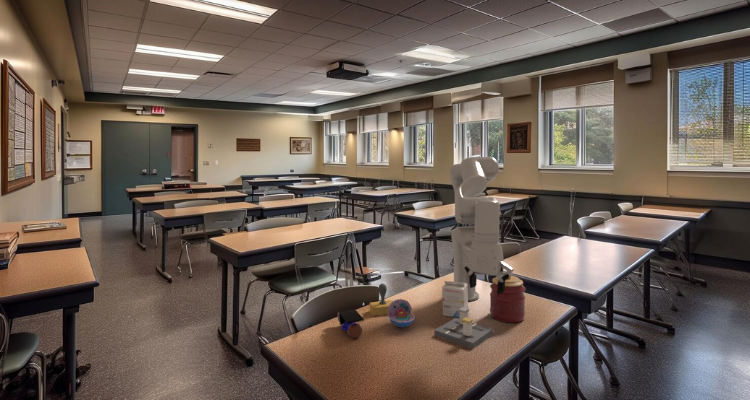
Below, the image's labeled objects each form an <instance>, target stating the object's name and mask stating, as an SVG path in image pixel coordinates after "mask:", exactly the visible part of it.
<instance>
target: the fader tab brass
mask: <svg viewBox="0 0 750 400" xmlns="http://www.w3.org/2000/svg"><path fill="white" fill-rule="evenodd" d="M462 322H463V335H466V336H470V335H472V323H474V319H473V318H471V317H469V316H468V317H465V318H464V319H462Z"/></svg>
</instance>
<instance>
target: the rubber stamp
mask: <svg viewBox="0 0 750 400" xmlns="http://www.w3.org/2000/svg"><path fill="white" fill-rule="evenodd" d="M387 290H388V289H387V285H386V284H385V283H380V284H379V285H378V293H379V297H380V299H381V300H380V301H373V302H372V301H371V302H369V313H370V314H371V316H372V317H376V316H383V315H384V316H386V315H388V307H389V305H390V304H391V303H392V302H393V301H394V300H392V299H390V300H385V297H386V293H387Z"/></svg>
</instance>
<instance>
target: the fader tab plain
mask: <svg viewBox="0 0 750 400" xmlns="http://www.w3.org/2000/svg"><path fill="white" fill-rule="evenodd" d="M469 311H470V309H469V308H468V309H467V308H464V307H462V308H460V309H459V312H460V318H459V319H460V324H463V322H462V319H464V318H465V317H468V318H469Z"/></svg>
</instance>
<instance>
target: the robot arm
mask: <svg viewBox="0 0 750 400" xmlns="http://www.w3.org/2000/svg"><path fill="white" fill-rule="evenodd" d="M499 173H500V167H499V162H498V160H497V159H495V157H493V156H472V157H471V156H470V157H466V158H464V159H463V160H462V161H461V162H460V163H454V164H453V165H451V166H450V168H449V178H450V182H451V185H452V187H453V188H452V189H453V192H454V218H455V221H456V223H458V224H462V225H463V224H464V225H470V224H471V225H472V224H473V225H474V226H459V227H455V228H454V229H452V232H451V241H452V242H451V243H452V250H453V282H460V283H467V284H468V302H472V301H473V302H474V301H476V300H478V299H479V298H480V294H479V293H478V292H477V291H476V287H477V274H482V275H486V276H492V277H493V276H495V278H496V277H497V278H498V280H499V282H498V286H497V293H498V294H502V293H503V292H504V291H505V280H507V279H508V278H509V277H510V276H512V274H513V273H514V268H513V267H511V266H510V265H508V264H507V263H505V262H504V253H503V246H502V243H501V242H500V210H501V207H500V206H501V205H500V202H499V201H498V199H497V198H496V197H494V196H478V195H479V194H481V193H483V192H484V191H485V190H486V189H487V188H488V187H487V186H488V184H489V183H491V182H492V181H494V180H495V179H496V178H497V177H498V175H499ZM504 270H505V271H506V272H507V273H506V272H505V273H506V274H505V273H504ZM504 274H505V275H504Z"/></svg>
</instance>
